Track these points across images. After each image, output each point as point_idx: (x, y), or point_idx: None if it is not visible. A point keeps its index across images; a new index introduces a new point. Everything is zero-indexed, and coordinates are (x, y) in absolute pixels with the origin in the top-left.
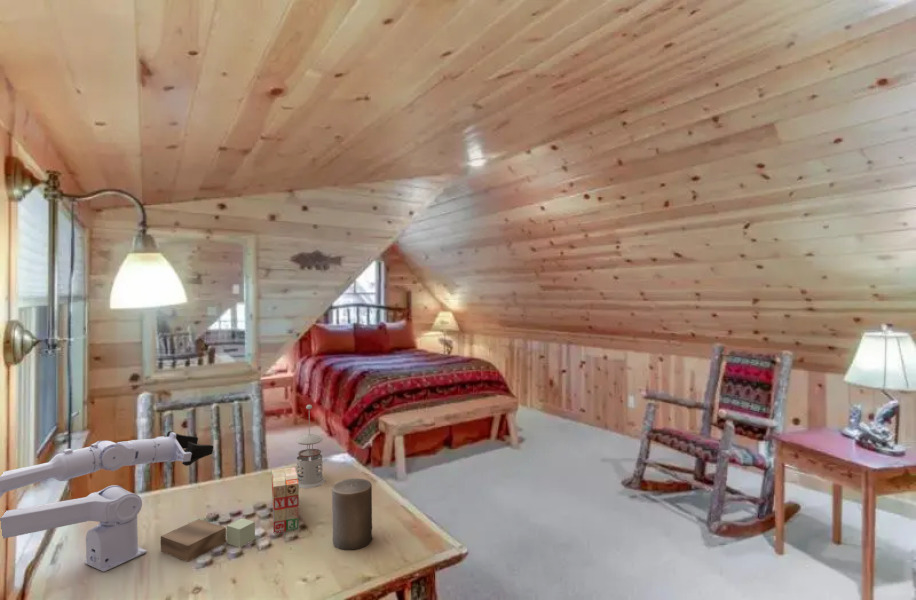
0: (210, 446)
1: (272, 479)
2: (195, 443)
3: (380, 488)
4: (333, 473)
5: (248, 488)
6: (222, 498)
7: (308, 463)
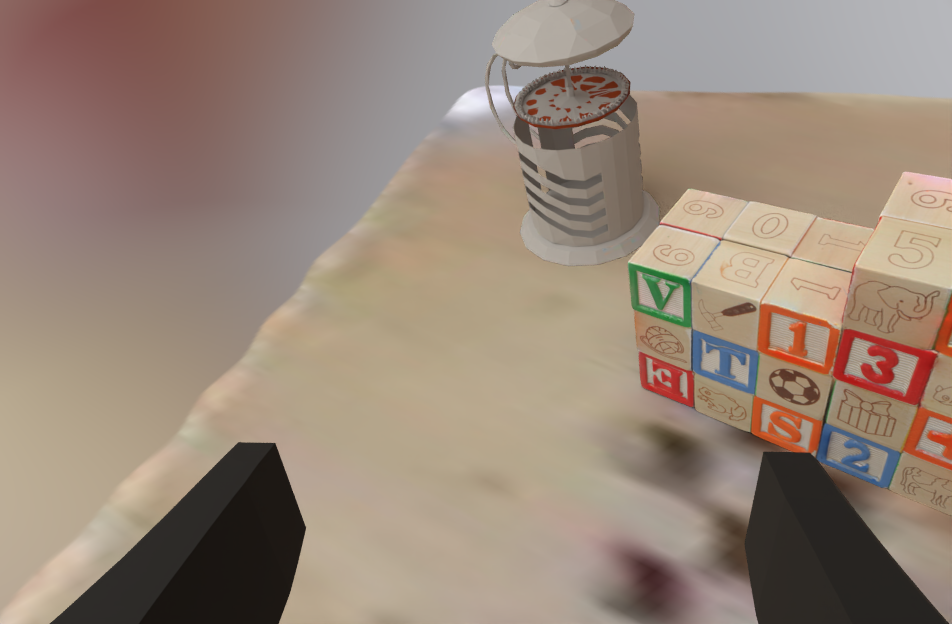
0: (843, 501)
1: (893, 320)
2: (291, 530)
3: (890, 105)
4: None
5: (399, 389)
6: (380, 524)
7: (622, 142)
